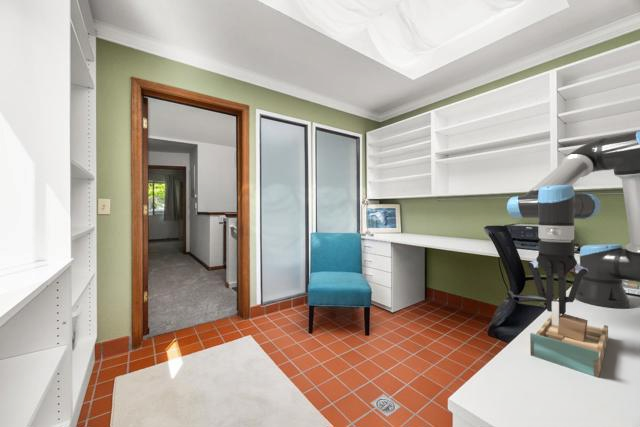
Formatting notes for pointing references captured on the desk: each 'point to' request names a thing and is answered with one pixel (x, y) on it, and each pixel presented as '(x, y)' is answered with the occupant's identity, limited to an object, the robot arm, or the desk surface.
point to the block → (572, 327)
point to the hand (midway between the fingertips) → (556, 324)
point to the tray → (571, 348)
